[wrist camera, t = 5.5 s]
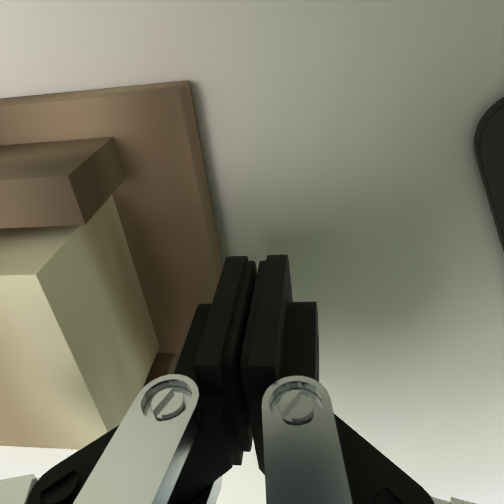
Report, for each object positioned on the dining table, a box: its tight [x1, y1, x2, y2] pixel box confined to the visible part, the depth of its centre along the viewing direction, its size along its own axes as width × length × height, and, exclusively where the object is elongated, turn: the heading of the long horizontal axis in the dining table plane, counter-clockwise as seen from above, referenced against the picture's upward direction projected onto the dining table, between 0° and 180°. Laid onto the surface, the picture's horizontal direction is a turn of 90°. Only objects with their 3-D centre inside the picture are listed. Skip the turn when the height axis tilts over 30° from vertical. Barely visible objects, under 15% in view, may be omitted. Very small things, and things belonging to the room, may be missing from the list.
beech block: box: [0, 195, 159, 449], centre depth 13 cm, size 6×6×4 cm
